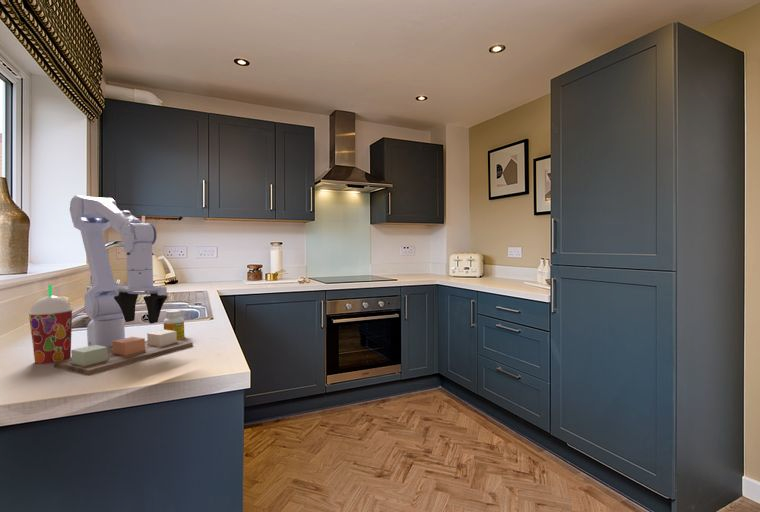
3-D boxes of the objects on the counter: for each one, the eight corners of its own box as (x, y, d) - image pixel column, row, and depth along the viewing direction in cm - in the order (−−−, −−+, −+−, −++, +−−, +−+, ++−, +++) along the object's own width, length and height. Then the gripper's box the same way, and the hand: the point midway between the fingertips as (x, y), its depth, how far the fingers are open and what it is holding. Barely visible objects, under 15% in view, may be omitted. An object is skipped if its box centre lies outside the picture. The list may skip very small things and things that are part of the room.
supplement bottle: (176, 346, 116) (175, 312, 115) (159, 345, 117) (158, 312, 116) (188, 341, 121) (187, 309, 120) (173, 340, 122) (171, 309, 122)
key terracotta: (113, 356, 100) (112, 341, 100) (133, 351, 104) (132, 336, 104) (125, 359, 97) (124, 343, 97) (145, 353, 102) (144, 338, 102)
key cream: (147, 348, 108) (147, 333, 108) (164, 343, 112) (164, 329, 112) (159, 350, 105) (159, 335, 105) (176, 345, 110) (176, 331, 110)
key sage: (72, 367, 92) (71, 350, 91) (95, 361, 96) (95, 344, 96) (84, 370, 89) (83, 352, 89) (108, 363, 94) (107, 347, 94)
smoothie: (74, 358, 104) (71, 282, 103) (75, 366, 97) (71, 284, 97) (31, 365, 99) (28, 284, 98) (29, 373, 92) (25, 287, 92)
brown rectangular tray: (54, 373, 92) (53, 362, 92) (159, 346, 116) (159, 337, 115) (88, 381, 86) (88, 370, 86) (192, 351, 109) (192, 342, 109)
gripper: (103, 270, 101) (105, 323, 101) (150, 271, 97) (151, 326, 98) (127, 268, 108) (129, 318, 108) (172, 269, 104) (173, 321, 104)
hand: (141, 322), depth 103 cm, fingers open, 7 cm apart
